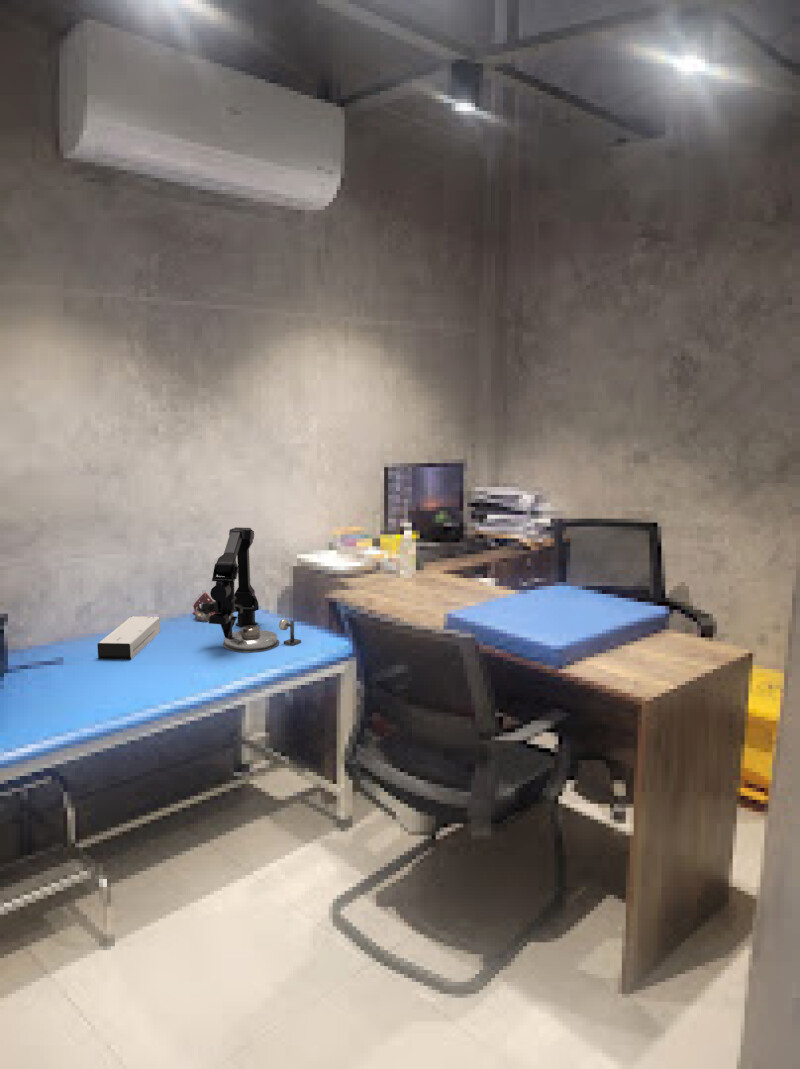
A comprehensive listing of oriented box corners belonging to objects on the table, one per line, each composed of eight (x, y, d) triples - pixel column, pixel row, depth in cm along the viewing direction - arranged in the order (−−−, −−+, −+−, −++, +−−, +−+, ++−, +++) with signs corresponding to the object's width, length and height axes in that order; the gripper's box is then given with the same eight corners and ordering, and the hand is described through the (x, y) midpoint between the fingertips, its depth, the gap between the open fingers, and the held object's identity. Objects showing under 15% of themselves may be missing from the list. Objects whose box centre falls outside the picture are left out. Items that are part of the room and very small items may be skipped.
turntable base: (250, 632, 314) (250, 631, 314) (290, 642, 303) (290, 641, 303) (211, 645, 297) (211, 644, 297) (251, 656, 286) (251, 655, 286)
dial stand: (290, 640, 306) (289, 616, 304) (300, 642, 303) (300, 619, 301) (279, 643, 301) (278, 620, 299) (290, 646, 298) (289, 622, 296)
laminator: (130, 661, 280) (129, 643, 279) (94, 660, 280) (94, 643, 279) (160, 632, 314) (159, 616, 313) (128, 631, 314) (127, 616, 313)
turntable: (257, 631, 313) (257, 616, 312) (287, 643, 300) (287, 627, 299) (214, 641, 300) (214, 626, 299) (244, 654, 287) (244, 637, 286)
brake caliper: (184, 616, 326) (193, 589, 331) (196, 626, 336) (205, 599, 341) (210, 619, 323) (218, 591, 328) (221, 629, 332) (229, 602, 338)
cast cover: (252, 633, 304) (252, 623, 304) (263, 637, 300) (263, 627, 299) (238, 637, 300) (237, 627, 299) (248, 641, 295) (248, 631, 294)
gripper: (214, 588, 304) (215, 628, 306) (194, 599, 286) (194, 642, 288) (243, 589, 302) (243, 630, 305) (224, 601, 284) (225, 645, 286)
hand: (226, 637), depth 296 cm, fingers closed
